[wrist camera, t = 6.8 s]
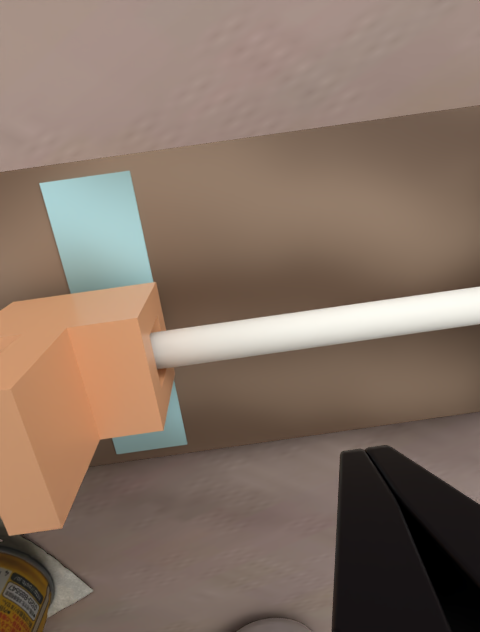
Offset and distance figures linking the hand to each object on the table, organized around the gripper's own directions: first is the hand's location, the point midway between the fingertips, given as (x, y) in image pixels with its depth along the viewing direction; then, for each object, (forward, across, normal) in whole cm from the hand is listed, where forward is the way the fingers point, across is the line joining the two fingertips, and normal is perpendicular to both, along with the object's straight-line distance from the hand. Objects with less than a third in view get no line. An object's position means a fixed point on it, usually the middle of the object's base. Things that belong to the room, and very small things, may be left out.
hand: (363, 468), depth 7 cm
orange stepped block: (+8, +7, 0) cm, 11 cm away
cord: (+7, 0, 0) cm, 7 cm away
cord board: (+10, +1, 0) cm, 11 cm away
